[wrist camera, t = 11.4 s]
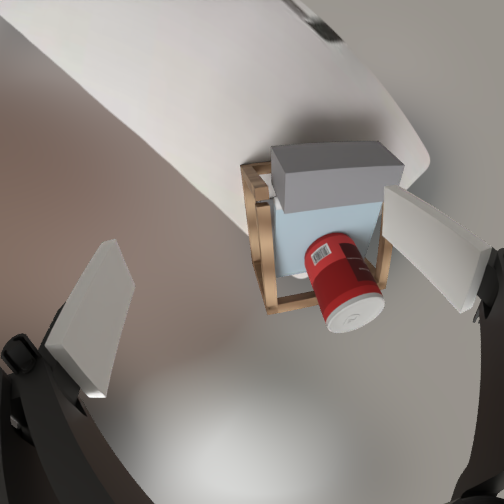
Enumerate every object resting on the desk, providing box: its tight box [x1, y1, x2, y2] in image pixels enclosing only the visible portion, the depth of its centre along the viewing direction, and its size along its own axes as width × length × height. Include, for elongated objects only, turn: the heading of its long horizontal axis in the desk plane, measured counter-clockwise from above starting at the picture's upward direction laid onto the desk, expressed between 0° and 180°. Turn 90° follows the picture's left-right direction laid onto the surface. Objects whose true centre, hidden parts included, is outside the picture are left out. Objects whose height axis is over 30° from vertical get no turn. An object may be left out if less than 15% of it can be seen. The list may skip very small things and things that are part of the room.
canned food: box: [304, 232, 385, 333], centre depth 35 cm, size 8×8×11 cm
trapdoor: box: [271, 141, 405, 278], centre depth 35 cm, size 19×15×6 cm
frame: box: [240, 161, 393, 315], centre depth 42 cm, size 18×19×14 cm
